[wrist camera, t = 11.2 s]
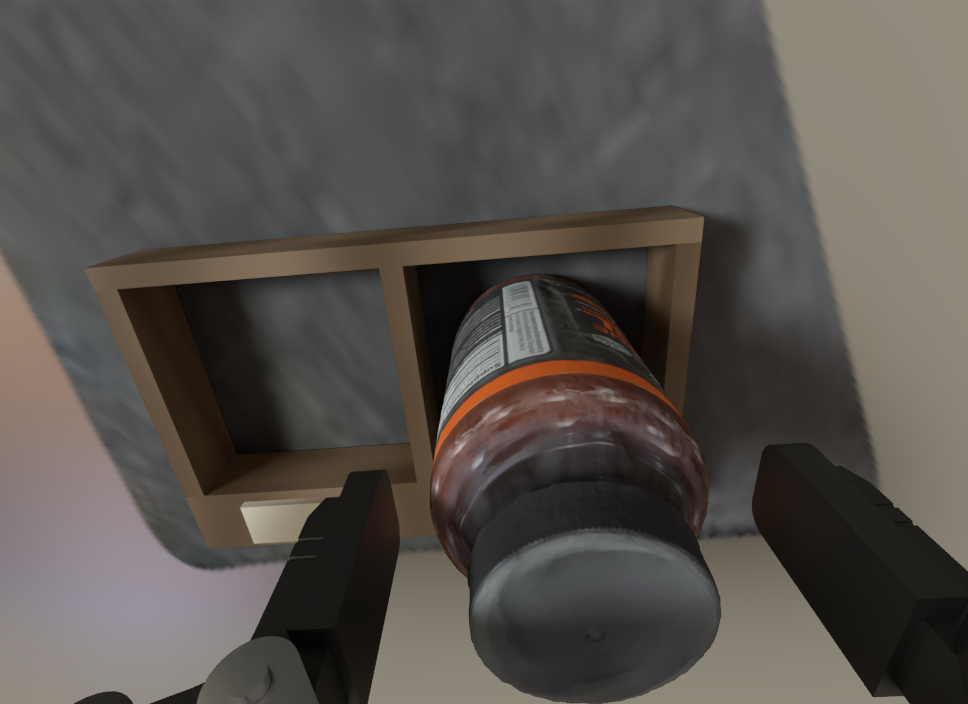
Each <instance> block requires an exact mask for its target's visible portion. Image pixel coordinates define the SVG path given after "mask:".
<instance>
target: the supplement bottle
mask: <svg viewBox="0 0 968 704" xmlns="http://www.w3.org/2000/svg"><path fill="white" fill-rule="evenodd" d="M708 497H709V476H708V473H707V468H706V463H705V459H704V457H703V454H702V452H701V450H700V447H699V444H698V441H697V439H696V438H695V436H694V435H693V434H692V432H691V430H690V428H689V427H688V425H687V424H686V422H685V421H684V420H683V418H682V417H681V415H680V414H679V412H678V410H677V409H676V407H675V406H674V405H673V404H672V402H671V401H670V399H669V397H668V396H667V394H666V392H665V391H664V390H663V388H662V387H661V386H660V385H659V383H658V382H657V380H656V379H655V377H654V376H653V375H652V373H651V372H650V370H649V369H648V368H647V366H646V365H645V364H644V363H643V361H642V360H641V359H640V357H639V356H638V354H637V353H636V351H635V350H634V349H633V348H632V346H631V345H630V343H629V342H628V340H627V338H626V337H625V335H624V333H623V332H622V331H621V330H620V329H619V327H618V326H617V325H616V323H615V321H614V320H613V318H612V317H611V315H610V313H609V312H608V311H607V310H606V309H605V307H604V306H603V305H602V304H601V303H600V302H599V301H598V300H597V299H596V298H594V297H593V296H592V295H591V294H590V293H589V292H588V291H586V290H585V289H583V288H582V287H580V286H578V285H577V284H575V283H572V282H570V281H568V280H566V279H562V278H558V277H554V276H551V275H537V274H533V275H525V276H521V277H515V278H512V279H509V280H506V281H503V282H501V283H499V284H497V285H495V286H493V287H492V288H490V289H488V290H487V291H486V292H484V293H483V294H482V295H481V296H480V297H479V298H478V299H477V300H476V301H475V302H474V303H473V304H472V305H471V306H470V308H469V309H468V310H467V312H466V313H465V315H464V317H463V319H462V321H461V323H460V326H459V329H458V331H457V334H456V337H455V341H454V345H453V350H452V357H451V363H450V368H449V373H448V379H447V386H446V390H445V395H444V402H443V407H442V411H441V418H440V423H439V430H438V435H437V441H436V446H435V452H434V461H433V467H432V473H431V481H430V512H431V518H432V522H433V525H434V528H435V531H436V534H437V537H438V539H439V541H440V544H441V546H442V547H443V549H444V551H445V553H446V555H447V556H448V558H449V559H450V560H451V562H452V563H453V564H454V565H455V566H456V568H457V569H458V570H459V571H460V572H461V573H462V574H463V575H464V576H465V577H466V578H468V586H469V588H470V605H469V626H470V633H471V640H472V642H473V644H474V647H475V650H476V652H477V654H478V656H479V657H480V658H481V659H482V661H483V663H484V665H485V666H486V667H487V668H489V669H490V671H491V672H492V673H493V674H495V676H497V677H498V678H499V679H500V680H501V681H502V682H505V683H508V684H511V685H512V686H513V687H515V688H516V689H518V690H519V691H521V692H524V693H528V694H531V695H533V696H535V697H540V698H545V699H548V700H551V701H554V702H567V703H588V704H602V703H608V702H616V701H622V700H626V699H629V698H633V697H637V696H641V695H644V694H646V693H648V692H650V691H651V690H654V689H657V688H659V687H661V686H663V685H665V684H667V683H669V682H671V681H673V680H675V679H676V678H678V677H679V676H680V675H682V674H684V673H686V672H687V671H688V670H689V669H690V668H691V667H692V666H693V665H694V664H695V663H696V662H697V661H698V660H699V659H701V658H702V657H703V656H704V654H705V652H706V651H707V650H708V649H709V648H710V647H711V645H712V643H713V641H714V639H715V637H716V634H717V631H718V627H719V623H720V618H721V607H720V596H719V594H718V590H717V587H716V584H715V581H714V579H713V577H712V574H711V572H710V570H709V568H708V566H707V564H706V562H705V560H704V558H703V555H702V553H701V551H700V546H699V544H698V541H697V538H698V537H699V534H700V532H701V530H702V526H703V522H704V519H705V517H706V514H707V506H708V502H709V498H708Z"/></svg>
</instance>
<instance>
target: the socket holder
mask: <svg viewBox="0 0 968 704" xmlns="http://www.w3.org/2000/svg"><path fill="white" fill-rule="evenodd" d="M703 225H704V217H703V216H700V215H697V214H694V213H691V212H689V211H686V210H683V209H680V208H678V207H675V206H661V207H649V208H637V209H625V210H614V211H602V212H590V213H578V214H566V215H554V216H542V217H530V218H518V219H506V220H494V221H482V222H470V223H458V224H447V225H435V226H423V227H411V228H399V229H387V230H375V231H363V232H351V233H339V234H327V235H315V236H303V237H291V238H280V239H268V240H256V241H244V242H232V243H220V244H208V245H196V246H184V247H172V248H160V249H148V250H140V251H137V252H134V253H130V254H127V255H124V256H121V257H118V258H115V259H112V260H109V261H106V262H103V263H99V264H96V265H93V266H90V267H87V268H84V269H85V271H86V273H87V276H88V278H89V280H90V282H91V285H92V287H93V289H94V291H95V294H96V296H97V298H98V300H99V303H100V305H101V307H102V309H103V312H104V314H105V316H106V318H107V321H108V323H109V325H110V327H111V330H112V332H113V334H114V336H115V339H116V341H117V343H118V345H119V348H120V350H121V352H122V355H123V357H124V359H125V361H126V364H127V366H128V368H129V370H130V373H131V375H132V377H133V379H134V382H135V384H136V386H137V388H138V391H139V393H140V395H141V397H142V400H143V402H144V404H145V406H146V409H147V411H148V413H149V415H150V418H151V420H152V422H153V424H154V427H155V429H156V431H157V433H158V436H159V438H160V440H161V442H162V445H163V447H164V449H165V451H166V454H167V456H168V458H169V460H170V463H171V465H172V467H173V469H174V472H175V474H176V476H177V478H178V481H179V483H180V485H181V487H182V490H183V492H184V494H185V497H186V499H187V501H188V503H189V506H190V508H191V510H192V512H193V515H194V517H195V519H196V521H197V524H198V526H199V528H200V530H201V533H202V535H203V537H204V539H205V542H206V544H207V546H208V548H223V547H240V546H257V545H274V544H291V543H296V542H298V537H299V535H300V532H301V530H302V528H303V526H304V524H305V522H306V519H307V517H308V516H309V515H310V514H311V513H312V512H313V511H314V510H315V509H316V507H317V506H318V505H319V504H320V503H321V502H322V501H323V500H324V499H325V498H329V497H340V494H341V492H342V489H343V487H344V484H345V482H346V479H347V477H348V475H349V473H350V472H352V471H367V470H383V469H385V470H387V472H388V475H389V478H390V483H391V488H392V492H393V497H394V502H395V506H396V511H397V516H398V520H399V528H400V537H410V536H427V535H437V534H436V531H435V528H434V525H433V522H432V518H431V512H430V481H431V473H432V467H433V461H434V452H435V446H436V441H437V435H438V430H439V417H438V410H437V404H436V397H435V390H434V383H433V376H432V369H431V362H430V355H429V348H428V341H427V334H426V327H425V320H424V313H423V306H422V299H421V292H420V285H419V278H418V271H417V265H424V264H436V263H449V262H461V261H474V260H486V259H498V258H511V257H523V256H535V255H548V254H560V253H573V252H585V251H597V250H610V249H622V248H635V247H647V246H648V259H647V275H646V291H645V307H644V323H643V338H642V354H641V360H642V361H643V363H644V364H645V365H646V366H647V368H648V369H649V370H650V372H651V373H652V375H653V376H654V377H655V379H656V380H657V382H658V383H659V385H660V386H661V387H662V388H663V390H664V391H665V392H666V394H667V396H668V397H669V399H670V401H671V402H672V404H673V405H674V406H675V407H676V409H677V410H678V412H679V414H680V415H681V417H682V416H683V407H684V398H685V389H686V380H687V371H688V362H689V352H690V343H691V334H692V325H693V316H694V307H695V298H696V289H697V280H698V270H699V261H700V252H701V243H702V234H703ZM374 268H379V272H380V277H381V283H382V289H383V294H384V300H385V306H386V311H387V317H388V322H389V328H390V334H391V339H392V345H393V350H394V356H395V362H396V367H397V373H398V378H399V384H400V390H401V395H402V401H403V406H404V412H405V418H406V423H407V429H408V435H409V440H410V443H407V444H392V445H376V446H361V447H346V448H331V449H316V450H301V451H286V452H271V453H256V454H241V455H237V454H236V452H235V449H234V446H233V443H232V441H231V438H230V435H229V433H228V430H227V427H226V424H225V422H224V419H223V416H222V414H221V411H220V408H219V405H218V403H217V400H216V397H215V395H214V392H213V389H212V386H211V384H210V381H209V378H208V376H207V373H206V370H205V367H204V365H203V362H202V359H201V357H200V354H199V351H198V348H197V346H196V343H195V340H194V338H193V335H192V332H191V329H190V327H189V324H188V321H187V319H186V316H185V313H184V310H183V308H182V305H181V302H180V300H179V297H178V294H177V291H176V289H175V286H174V285H176V284H189V283H201V282H213V281H226V280H238V279H251V278H263V277H275V276H288V275H300V274H313V273H325V272H337V271H350V270H362V269H374Z"/></svg>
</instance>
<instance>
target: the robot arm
mask: <svg viewBox="0 0 968 704" xmlns="http://www.w3.org/2000/svg"><path fill="white" fill-rule="evenodd" d="M752 512H753V517H754V520H755V523H756V526H757V528H758V530H759V532H760V533H761V535H762V536H763V538H764V539H765V541H766V542H767V543H768V545H769V546H770V548H771V549H772V551H773V552H774V554H775V555H776V557H777V558H778V559H779V561H780V562H781V564H782V565H783V567H784V568H785V570H786V571H787V572H788V574H789V576H790V577H791V578H792V580H793V581H794V583H795V584H796V586H797V587H798V588H799V590H800V592H801V593H802V594H803V596H804V597H805V599H806V600H807V602H808V603H809V605H810V606H811V608H812V609H813V610H814V611H815V613H816V615H817V616H818V618H819V619H820V620H821V622H822V623H823V625H824V626H825V628H826V629H827V631H828V632H829V633H830V635H831V637H832V638H833V639H834V641H835V642H836V644H837V645H838V647H839V648H840V650H841V651H842V653H843V654H844V656H845V657H846V658H847V660H848V661H849V663H850V664H851V666H852V667H853V669H854V670H855V672H856V673H857V675H858V676H859V677H860V679H861V680H862V681H863V683H864V685H865V686H866V688H867V689H868V691H869V692H870V693H871V695H872V696H873V697H888V696H904V697H905V698H906V699H907V701H908V702H909V703H910V704H968V571H967V570H966V569H965V568H963V567H962V566H961V565H960V564H959V563H958V562H957V561H956V560H954V559H953V558H952V557H951V556H950V555H949V554H948V553H947V552H946V551H945V550H944V549H943V548H941V547H940V546H939V545H938V544H937V543H936V542H935V541H934V540H933V539H931V538H930V537H929V536H928V535H927V534H926V533H925V532H924V531H923V530H922V529H921V528H919V527H918V526H914V525H913V523H912V520H911V519H910V518H909V517H907V516H906V515H905V514H904V513H903V512H902V511H901V510H900V509H899V508H894V506H893V503H892V502H891V501H890V500H889V499H888V498H886V497H885V496H884V495H883V494H882V493H881V492H880V491H879V490H878V489H877V488H876V487H874V486H873V485H872V484H871V483H870V482H868V481H866V480H865V479H863V478H861V477H859V476H857V475H856V474H854V473H852V472H850V471H849V470H847V469H845V468H843V467H842V466H834V465H833V464H832V463H831V462H830V461H829V460H828V459H827V458H826V457H825V456H824V455H823V454H822V453H821V452H819V451H818V450H817V449H816V448H815V447H814V446H813V445H811V444H809V443H794V444H779V445H768V446H766V447H765V448H764V450H763V452H762V456H761V461H760V466H759V470H758V475H757V480H756V485H755V489H754V494H753V499H752ZM399 544H400V528H399V520H398V516H397V511H396V506H395V502H394V497H393V492H392V488H391V483H390V478H389V475H388V472H387V470H385V469H383V470H367V471H352V472H350V473H349V475H348V477H347V479H346V482H345V484H344V487H343V489H342V492H341V494H340V497H329V498H325V499H324V500H323V501H322V502H321V503H320V504H319V505H318V506H317V507H316V509H315V510H314V511H313V512H312V513H311V514H310V515H309V516H308V517H307V519H306V522H305V524H304V526H303V528H302V530H301V532H300V535H299V537H298V542H296V543H295V546H294V548H293V550H292V552H291V554H290V560H289V561H287V563H286V565H285V567H284V569H283V572H282V574H281V576H280V578H279V580H278V583H277V585H276V587H275V589H274V591H273V594H272V596H271V598H270V600H269V602H268V605H267V606H266V609H265V611H264V613H263V615H262V617H261V619H260V622H259V624H258V626H257V628H256V630H255V632H254V634H253V636H252V638H251V640H250V641H249V642H247V643H245V644H243V645H241V646H239V647H238V648H236V649H235V650H233V651H232V652H231V653H230V654H228V655H227V656H226V657H225V658H224V659H223V660H222V661H221V662H220V663H219V664H218V665H217V666H216V667H215V668H214V670H213V671H212V672H211V673H210V675H209V676H208V678H207V679H206V681H205V682H204V683H202V684H200V685H198V686H196V687H193V688H191V689H188V690H186V691H183V692H180V693H177V694H175V695H172V696H169V697H167V698H164V699H161V700H159V701H156V702H153V703H151V704H368V699H369V694H370V689H371V684H372V679H373V674H374V669H375V665H376V660H377V654H378V650H379V645H380V640H381V636H382V631H383V626H384V621H385V616H386V611H387V606H388V601H389V597H390V591H391V586H392V582H393V577H394V571H395V567H396V562H397V558H398V552H399ZM74 704H133V703H132V701H131V700H130V699H129V698H128V697H127V696H126V695H124V694H123V693H120V692H103V693H98V694H95V695H92V696H89V697H86V698H84V699H82V700H80V701H78V702H76V703H74Z"/></svg>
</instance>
